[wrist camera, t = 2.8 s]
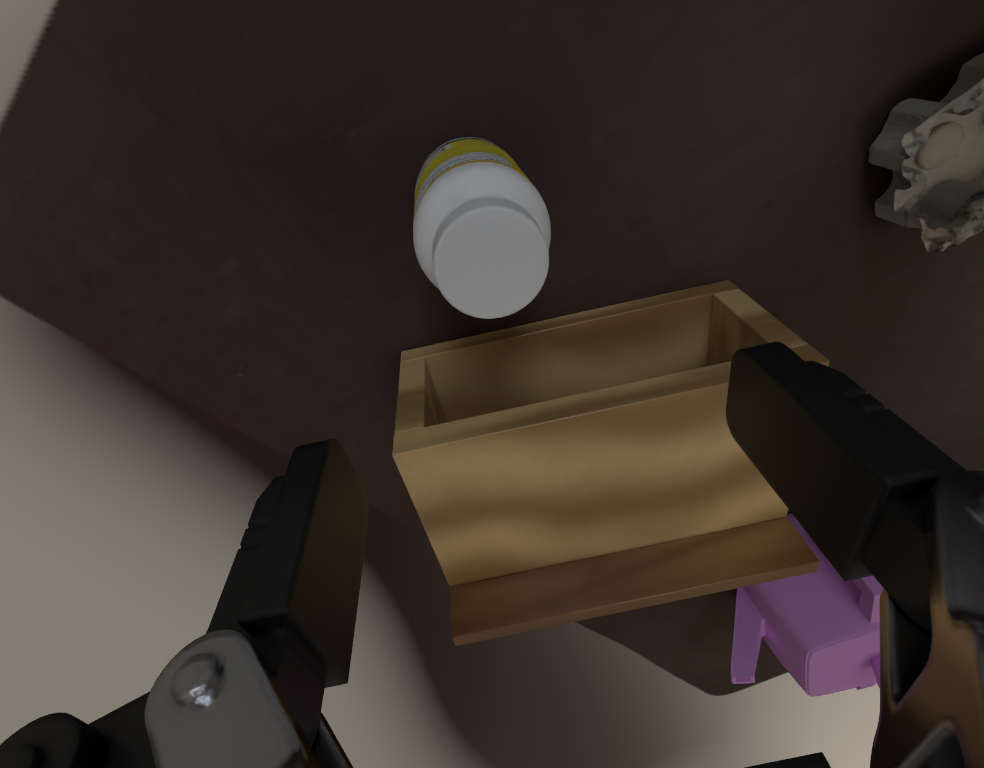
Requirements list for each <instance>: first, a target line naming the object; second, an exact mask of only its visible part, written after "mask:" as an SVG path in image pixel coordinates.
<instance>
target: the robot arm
mask: <svg viewBox="0 0 984 768" xmlns="http://www.w3.org/2000/svg"><path fill="white" fill-rule="evenodd" d="M726 420H727V424H728V427H729V430H730V432H731V434H732V436H733V438H734V440H735V441H736V442H737V444H738V445H739V446H740V447H741V449H742V450H743V451H744V453H745V454H746V455H747V456H748V458H749V459H750V460H751V462H752V463H753V464H754V465H755V467H756V468H757V469H758V471H759V472H760V473H761V474H762V476H763V477H764V478H765V480H766V481H767V482H768V483H769V485H770V486H771V487H772V489H773V490H774V491H775V492H776V494H777V495H778V496H779V497H780V499H781V500H782V501H783V503H784V504H785V505H786V506H787V508H788V509H789V510H790V512H791V513H792V514H793V515H794V517H795V518H796V519H797V521H798V522H799V523H800V524H801V526H802V527H803V528H804V530H805V531H806V532H807V533H808V535H809V536H810V537H811V539H812V540H813V541H814V542H815V544H816V545H817V546H818V548H819V549H820V550H821V551H822V553H823V554H824V555H825V557H826V558H827V559H828V560H829V562H830V563H831V564H832V566H833V567H834V568H835V569H836V571H837V572H838V573H839V574H840V576H841V577H842V578H843V580H844V581H849V580H854V579H858V578H863V577H868V576H874V577H875V578H876V580H877V581H878V582H879V583H880V584H881V586H882V587H883V590H882V593H881V595H880V715H879V722H878V727H877V730H876V734H875V737H874V741H873V747H872V753H871V761H870V768H984V471H967V470H966V469H964V468H963V467H962V466H960V465H959V464H958V463H956V462H955V461H954V460H953V459H951V458H950V457H949V456H948V455H946V454H945V453H944V452H942V451H941V450H940V449H939V448H937V447H936V446H935V445H934V444H932V443H931V442H930V441H928V440H927V439H926V438H925V437H923V436H922V435H921V434H920V433H918V432H917V431H916V430H915V429H913V428H912V427H911V426H909V425H908V424H907V423H906V422H904V421H903V420H902V419H901V418H899V417H898V416H897V415H895V414H894V413H893V412H892V411H890V410H885V409H884V405H883V404H881V403H880V402H879V401H878V400H876V399H875V398H874V397H873V396H871V395H870V394H868V395H866V393H865V390H864V389H862V388H861V387H860V386H859V385H857V384H856V383H855V382H854V381H852V380H851V379H850V378H848V377H847V376H846V375H845V374H843V373H842V372H839V371H837V370H835V369H832V368H830V367H828V366H825V365H823V364H820V363H818V362H816V361H813V360H811V361H806V362H805V361H804V360H803V359H802V358H801V357H799V356H798V355H797V354H796V353H795V352H793V351H792V350H791V349H790V348H789V347H787V346H786V345H785V344H783V343H782V342H778V341H775V342H770V343H766V344H761V345H757V346H752V347H748V348H743V349H739V350H737V351H736V352H735V353H734V354H733V357H732V361H731V369H730V378H729V386H728V394H727V403H726ZM368 519H369V509H368V501H367V497H366V493H365V490H364V488H363V486H362V484H361V482H360V480H359V478H358V476H357V475H356V473H355V471H354V469H353V467H352V465H351V463H350V461H349V459H348V457H347V455H346V453H345V451H344V450H343V448H342V446H341V444H340V443H339V441H338V440H336V439H329V440H324V441H320V442H315V443H311V444H307V445H302V446H298V447H296V448H295V449H294V451H293V453H292V456H291V459H290V462H289V465H288V468H287V471H286V474H285V476H280V477H276V478H274V479H273V481H272V482H271V483H270V484H269V486H268V487H267V488H266V489H265V491H264V492H263V493H262V495H261V496H260V497H259V498H258V500H257V501H256V504H255V507H254V509H253V512H252V514H251V517H250V520H249V523H248V526H249V528H248V529H246V530H245V533H244V536H243V538H242V541H241V544H240V545H241V549H239V550H238V551H237V554H236V557H235V559H234V562H233V565H232V567H231V570H230V573H229V575H228V578H227V581H226V583H225V586H224V589H223V591H222V594H221V596H220V599H219V602H218V604H217V607H216V610H215V612H214V615H213V618H212V620H211V623H210V625H209V628H208V630H207V632H206V634H205V635H204V636H201V637H199V638H198V639H196V640H194V641H193V642H191V643H190V644H188V645H187V646H186V647H184V648H183V649H182V650H181V651H180V652H179V653H178V654H177V655H176V656H175V657H174V658H173V659H172V660H171V661H170V662H169V663H168V664H167V665H166V667H165V668H164V669H163V670H162V672H161V673H160V675H159V677H158V678H157V679H156V681H155V683H154V685H153V687H152V689H151V691H150V692H148V693H146V694H144V695H143V696H141V697H139V698H137V699H135V700H133V701H131V702H129V703H127V704H126V705H124V706H122V707H120V708H118V709H116V710H114V711H112V712H110V713H109V714H107V715H105V716H103V717H101V718H99V719H97V720H95V721H94V722H92V723H90V724H86V723H85V722H83V721H81V720H80V719H78V718H76V717H74V716H72V715H70V714H67V713H54V714H49V715H46V716H43V717H40V718H39V719H36V720H34V721H32V722H30V723H29V724H27V725H26V726H24V727H23V728H21V729H19V730H18V731H17V732H15V733H14V734H13V735H11V736H10V737H9V738H8V739H6V740H5V741H4V742H3V743H2V744H1V745H0V768H353V766H352V764H351V763H350V761H349V759H348V758H347V756H346V754H345V752H344V750H343V749H342V747H341V745H340V743H339V742H338V740H337V738H336V736H335V735H334V733H333V731H332V729H331V728H330V726H329V724H328V722H327V720H326V719H325V717H324V716H323V714H322V713H321V706H322V700H323V694H324V688H327V687H332V686H336V685H341V684H346V683H348V677H349V669H350V661H351V653H352V646H353V637H354V629H355V622H356V613H357V606H358V597H359V590H360V582H361V574H362V567H363V558H364V551H365V543H366V535H367V527H368ZM745 768H831V767H830V765H829V763H828V762H827V760H826V758H825V756H824V755H823V753H822V752H820V753H815V754H810V755H805V756H800V757H795V758H790V759H785V760H780V761H775V762H770V763H765V764H760V765H755V766H751V767H745Z"/></svg>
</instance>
